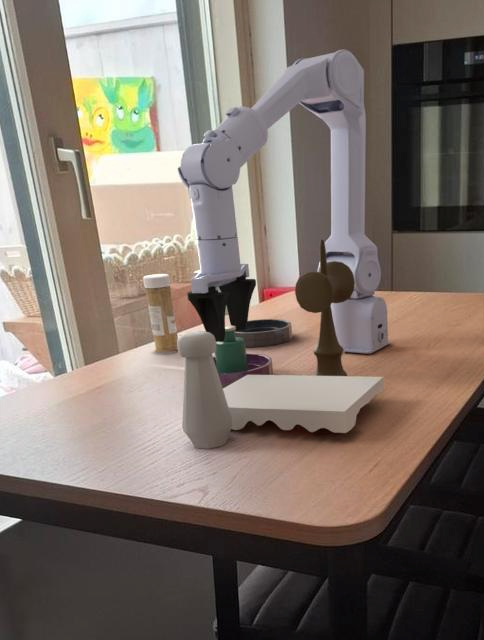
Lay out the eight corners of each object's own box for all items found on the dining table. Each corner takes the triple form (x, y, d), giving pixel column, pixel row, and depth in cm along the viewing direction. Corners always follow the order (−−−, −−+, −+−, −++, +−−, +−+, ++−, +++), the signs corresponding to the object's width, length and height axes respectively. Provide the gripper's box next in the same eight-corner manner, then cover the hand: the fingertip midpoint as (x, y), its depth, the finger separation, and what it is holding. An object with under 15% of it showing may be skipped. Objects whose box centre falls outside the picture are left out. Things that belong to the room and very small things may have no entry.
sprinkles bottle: (184, 350, 127) (173, 274, 122) (160, 355, 125) (148, 278, 120) (174, 346, 131) (163, 272, 125) (151, 351, 129) (138, 275, 123)
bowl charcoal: (304, 336, 132) (303, 320, 131) (268, 351, 123) (266, 334, 122) (252, 333, 138) (251, 317, 137) (214, 347, 129) (212, 330, 127)
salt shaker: (188, 436, 85) (172, 329, 80) (235, 432, 86) (222, 325, 80) (183, 453, 80) (165, 340, 75) (233, 449, 80) (219, 336, 75)
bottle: (253, 375, 107) (247, 323, 104) (241, 384, 103) (235, 330, 100) (225, 375, 109) (219, 323, 105) (213, 384, 104) (206, 330, 101)
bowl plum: (288, 375, 108) (287, 356, 107) (242, 397, 99) (240, 377, 97) (226, 369, 114) (224, 350, 112) (177, 389, 104) (174, 370, 103)
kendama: (359, 373, 106) (353, 235, 98) (338, 392, 98) (330, 242, 90) (322, 372, 108) (314, 236, 100) (299, 390, 100) (288, 243, 92)
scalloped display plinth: (196, 431, 87) (346, 439, 80) (192, 406, 86) (344, 411, 79) (250, 397, 100) (384, 401, 93) (247, 374, 99) (383, 376, 92)
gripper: (214, 233, 105) (225, 324, 111) (165, 244, 92) (180, 346, 98) (257, 232, 103) (266, 324, 108) (213, 243, 90) (225, 347, 96)
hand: (228, 335), depth 103 cm, fingers open, 7 cm apart
